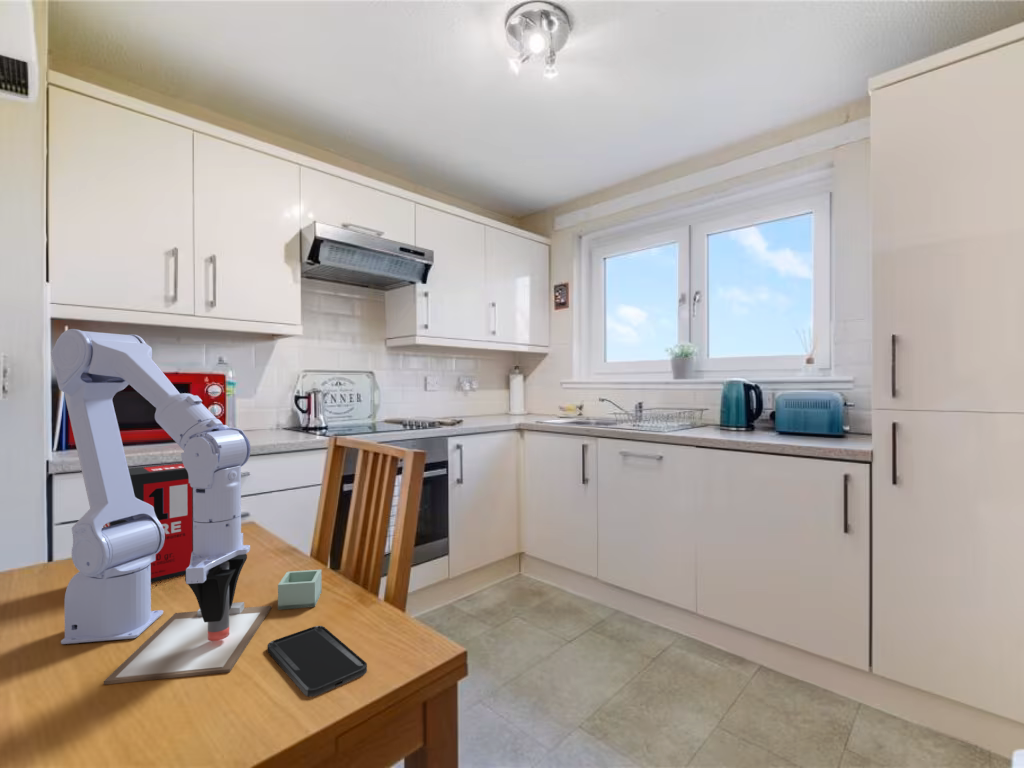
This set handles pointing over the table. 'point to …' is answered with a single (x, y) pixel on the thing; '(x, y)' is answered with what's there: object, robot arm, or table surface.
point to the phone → (316, 660)
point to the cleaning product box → (167, 514)
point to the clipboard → (190, 647)
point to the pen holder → (299, 589)
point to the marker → (221, 628)
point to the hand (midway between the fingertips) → (217, 615)
